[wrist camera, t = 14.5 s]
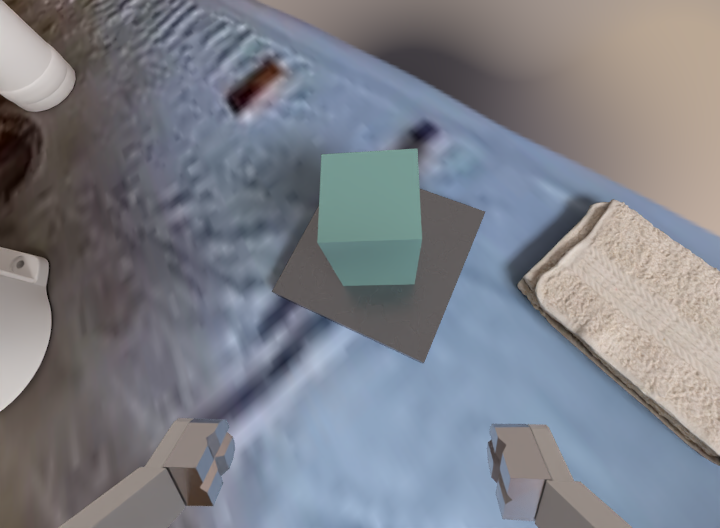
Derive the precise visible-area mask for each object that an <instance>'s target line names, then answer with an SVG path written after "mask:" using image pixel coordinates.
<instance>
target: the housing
mask: <svg viewBox="0 0 720 528" xmlns="http://www.w3.org/2000/svg"><path fill="white" fill-rule="evenodd" d="M317 243H318V245H319V246H320V248H321V250H322V251H323V253H324V255H325V256H326V258H327V260H328V261H329V263H330V265H331V266H332V268H333V270H334V271H335V273H336V275H337V276H338V278H339V280H340V281H341V283H342V285H343V286H361V285H408V284H415V279H416V273H417V267H418V261H419V255H420V249H421V243H422V227H421V208H420V190H419V171H418V152H417V149H403V150H387V151H370V152H354V153H337V154H321V175H320V197H319V218H318V240H317Z"/></svg>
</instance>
